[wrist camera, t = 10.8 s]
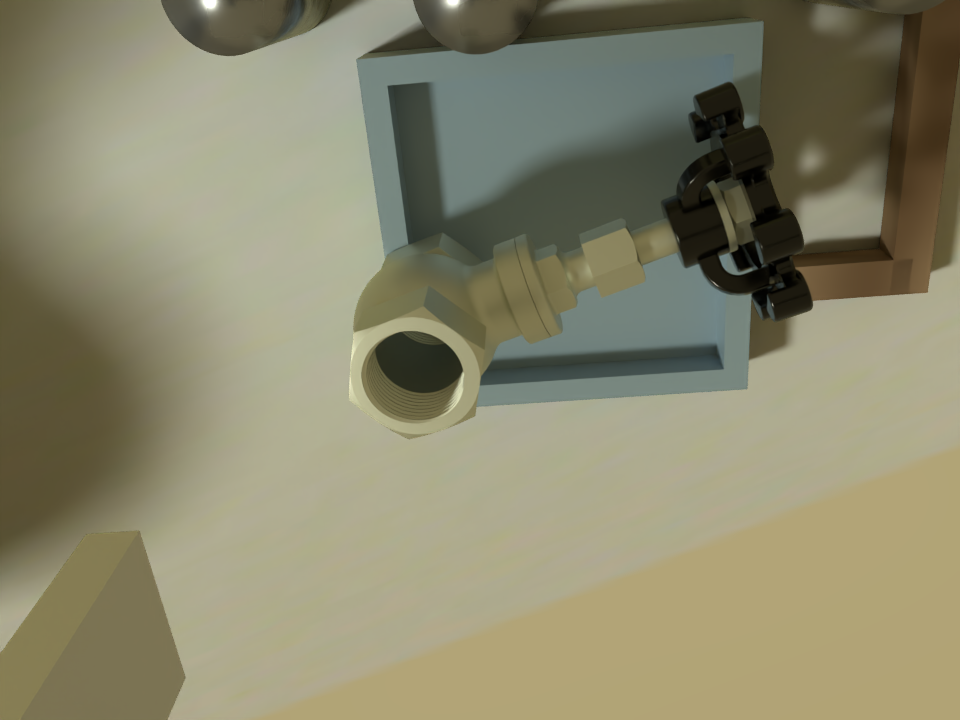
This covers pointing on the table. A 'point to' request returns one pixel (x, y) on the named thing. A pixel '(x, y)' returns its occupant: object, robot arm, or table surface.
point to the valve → (568, 278)
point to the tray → (569, 189)
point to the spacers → (439, 4)
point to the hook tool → (904, 170)
